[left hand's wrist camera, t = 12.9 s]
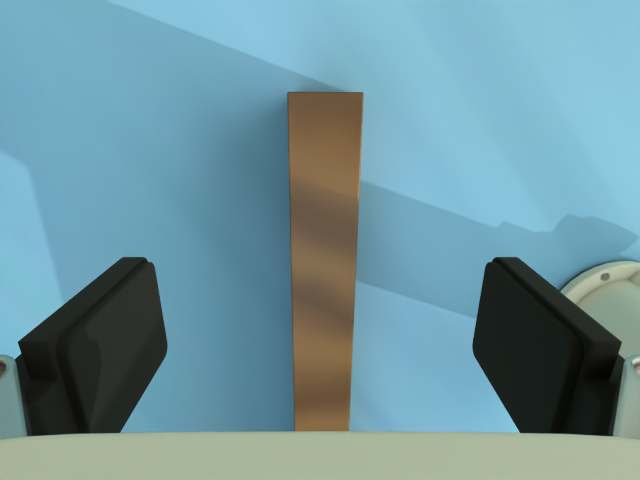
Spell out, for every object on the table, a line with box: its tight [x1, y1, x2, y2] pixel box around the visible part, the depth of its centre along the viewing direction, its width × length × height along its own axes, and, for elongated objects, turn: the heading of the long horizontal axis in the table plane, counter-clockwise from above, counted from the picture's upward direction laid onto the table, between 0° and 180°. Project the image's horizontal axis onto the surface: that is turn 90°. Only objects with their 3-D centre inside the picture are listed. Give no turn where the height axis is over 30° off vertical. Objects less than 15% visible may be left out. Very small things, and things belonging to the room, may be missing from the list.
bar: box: [287, 92, 364, 431], centre depth 41 cm, size 77×5×8 cm, turn 0°
